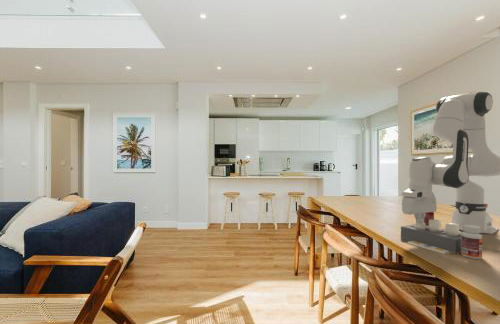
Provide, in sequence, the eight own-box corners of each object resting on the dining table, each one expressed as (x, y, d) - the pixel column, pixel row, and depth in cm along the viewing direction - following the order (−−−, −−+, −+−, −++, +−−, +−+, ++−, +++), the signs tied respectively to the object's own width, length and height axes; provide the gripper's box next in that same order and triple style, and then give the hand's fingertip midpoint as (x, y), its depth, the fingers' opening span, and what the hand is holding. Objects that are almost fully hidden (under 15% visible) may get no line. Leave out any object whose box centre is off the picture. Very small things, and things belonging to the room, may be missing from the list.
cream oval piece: (417, 234, 123) (417, 221, 123) (427, 236, 119) (427, 223, 119) (411, 235, 121) (411, 222, 121) (421, 237, 117) (421, 224, 117)
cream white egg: (432, 232, 117) (432, 219, 117) (443, 235, 113) (443, 221, 113) (426, 233, 115) (426, 219, 115) (437, 236, 111) (437, 222, 111)
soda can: (436, 235, 127) (436, 210, 127) (420, 234, 128) (421, 209, 128) (429, 231, 133) (430, 207, 133) (415, 230, 135) (415, 207, 135)
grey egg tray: (418, 234, 127) (418, 223, 127) (473, 249, 107) (473, 235, 107) (400, 238, 121) (400, 226, 121) (455, 253, 101) (455, 239, 101)
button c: (448, 236, 111) (449, 222, 111) (460, 239, 107) (461, 224, 107) (442, 237, 109) (443, 223, 109) (454, 240, 105) (455, 225, 105)
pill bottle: (483, 260, 94) (484, 229, 94) (462, 257, 98) (462, 226, 98) (480, 255, 100) (480, 225, 100) (459, 252, 103) (460, 223, 103)
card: (413, 242, 115) (413, 240, 115) (449, 252, 103) (449, 250, 103) (407, 243, 114) (407, 241, 114) (443, 253, 101) (443, 251, 101)
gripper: (426, 190, 127) (426, 219, 127) (399, 192, 118) (398, 223, 118) (440, 192, 121) (440, 222, 121) (413, 194, 112) (412, 226, 112)
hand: (419, 222), depth 119 cm, fingers closed, pressing on cream oval piece
